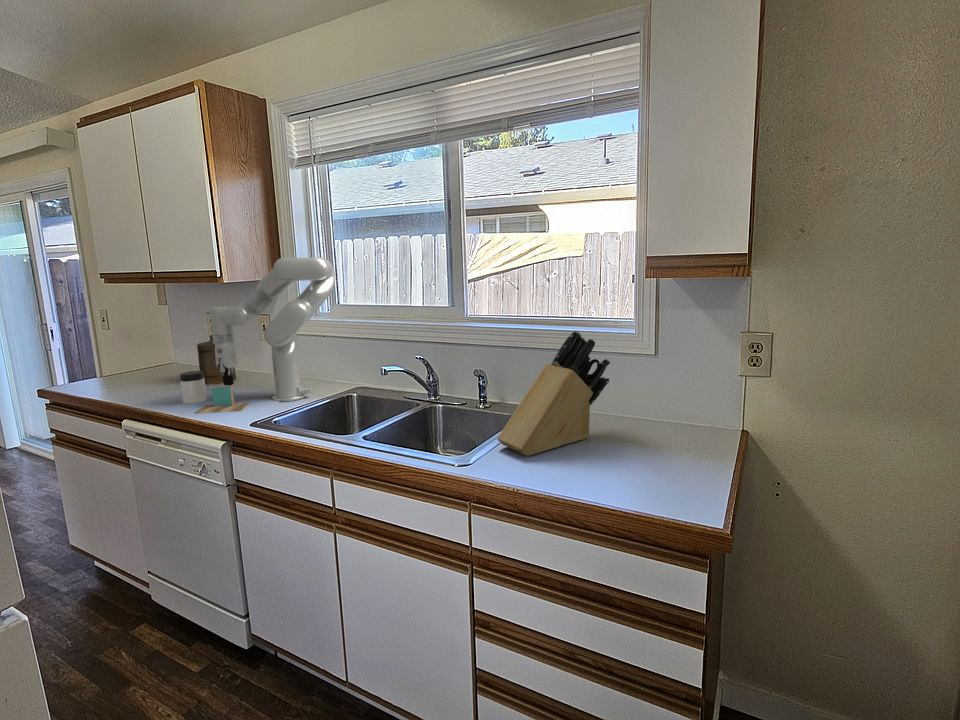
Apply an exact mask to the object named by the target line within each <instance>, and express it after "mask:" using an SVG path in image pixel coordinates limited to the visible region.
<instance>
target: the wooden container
mask: <svg viewBox="0 0 960 720" xmlns="http://www.w3.org/2000/svg"><path fill="white" fill-rule="evenodd" d="M196 346H197V356H198V367H199V371H202V372H203V376H204V380H205V385H207V384H213V385H221V384H220V383H223V384H224V382H223V375H222V373H221V372H220V369H218V368H217V366H216V358H215V344H214V343H213V336H212V334H211V335H209V341H203V342H200V343H198V344H196ZM236 380H237V375H236V366H234V367H233V382H234V381H236Z"/></svg>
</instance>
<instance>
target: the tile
mask: <svg viewBox="0 0 960 720" xmlns="http://www.w3.org/2000/svg"><path fill="white" fill-rule="evenodd" d="M210 388H211V394H212V402H213V404H214V407H215V406H233V405H234V403H235V397H234V389H233V385H217V386H216V385H213V386H212V387H210Z"/></svg>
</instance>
